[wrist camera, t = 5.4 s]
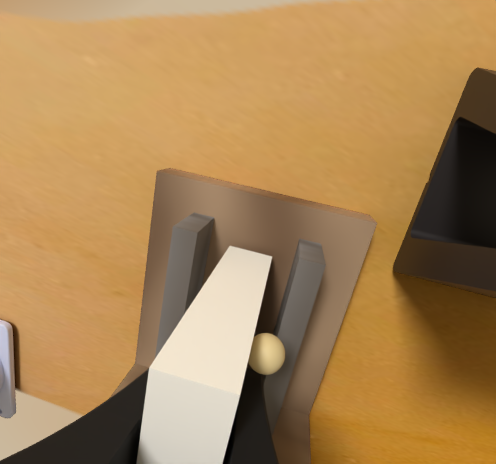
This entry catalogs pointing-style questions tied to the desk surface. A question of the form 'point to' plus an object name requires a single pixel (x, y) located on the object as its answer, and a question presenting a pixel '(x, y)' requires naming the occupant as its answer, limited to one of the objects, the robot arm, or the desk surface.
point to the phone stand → (459, 200)
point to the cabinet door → (208, 365)
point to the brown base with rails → (277, 285)
